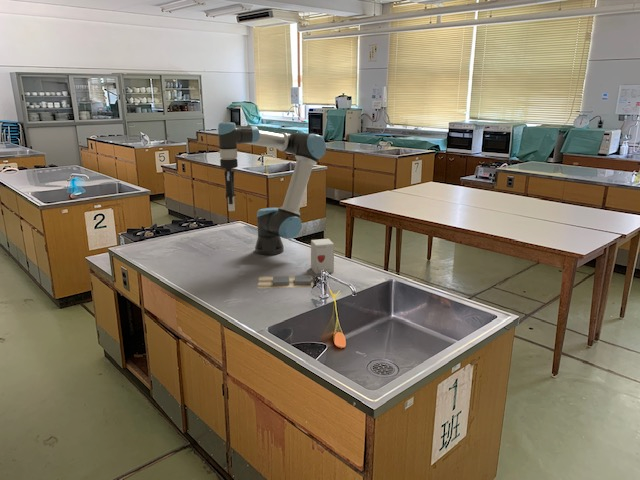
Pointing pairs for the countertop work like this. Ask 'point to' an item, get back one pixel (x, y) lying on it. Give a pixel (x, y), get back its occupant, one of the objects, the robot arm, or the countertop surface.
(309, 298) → the countertop surface
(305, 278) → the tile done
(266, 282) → the board
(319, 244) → the supplement box
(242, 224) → the countertop surface
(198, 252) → the countertop surface
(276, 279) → the tile
